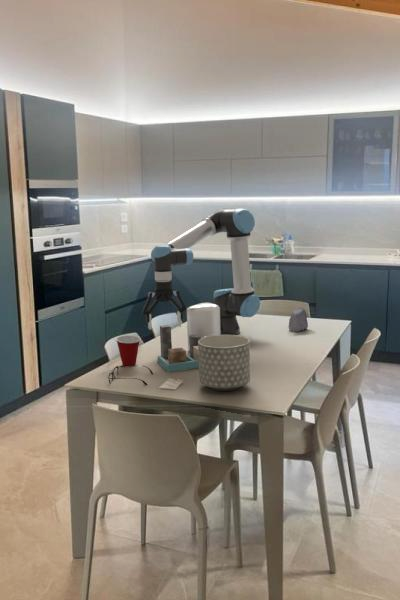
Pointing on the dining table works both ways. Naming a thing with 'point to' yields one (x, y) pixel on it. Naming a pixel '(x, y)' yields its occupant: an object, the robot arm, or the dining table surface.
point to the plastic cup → (128, 349)
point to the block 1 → (170, 346)
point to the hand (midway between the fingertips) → (164, 327)
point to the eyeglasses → (124, 378)
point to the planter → (224, 361)
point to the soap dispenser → (203, 320)
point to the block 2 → (194, 346)
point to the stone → (298, 320)
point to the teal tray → (179, 364)
